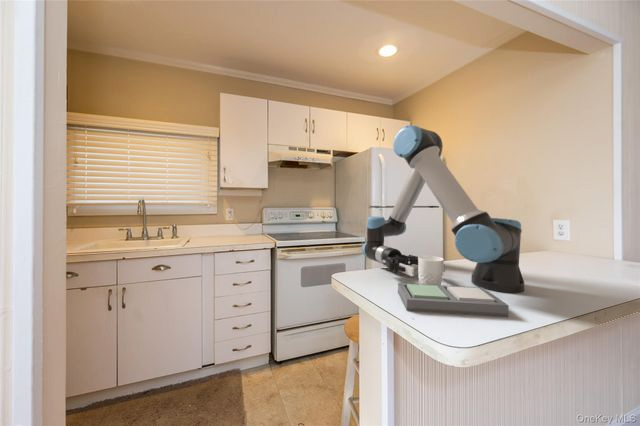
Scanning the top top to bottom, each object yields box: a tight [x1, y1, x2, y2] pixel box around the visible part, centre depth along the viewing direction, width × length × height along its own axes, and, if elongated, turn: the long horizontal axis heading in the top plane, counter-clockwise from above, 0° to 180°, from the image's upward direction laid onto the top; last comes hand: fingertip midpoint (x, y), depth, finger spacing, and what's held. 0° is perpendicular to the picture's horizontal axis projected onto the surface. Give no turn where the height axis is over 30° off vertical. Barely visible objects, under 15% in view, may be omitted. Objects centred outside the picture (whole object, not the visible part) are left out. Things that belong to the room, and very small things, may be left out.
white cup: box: [417, 255, 445, 285], centre depth 86 cm, size 8×8×10 cm
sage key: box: [406, 283, 448, 300], centre depth 74 cm, size 9×9×1 cm
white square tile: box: [446, 285, 495, 302], centre depth 73 cm, size 9×9×1 cm
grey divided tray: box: [397, 282, 509, 318], centre depth 73 cm, size 25×13×3 cm, turn 83°
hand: (429, 270), depth 86 cm, fingers open, 13 cm apart
